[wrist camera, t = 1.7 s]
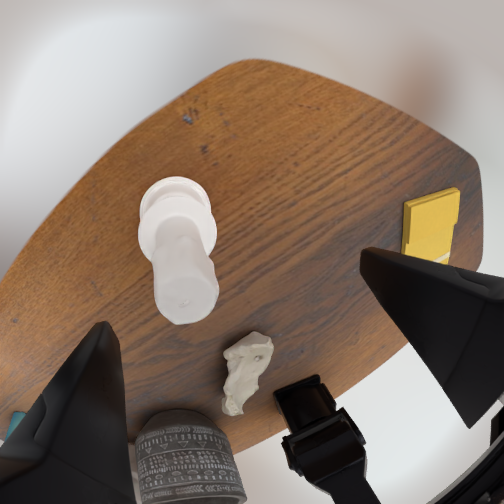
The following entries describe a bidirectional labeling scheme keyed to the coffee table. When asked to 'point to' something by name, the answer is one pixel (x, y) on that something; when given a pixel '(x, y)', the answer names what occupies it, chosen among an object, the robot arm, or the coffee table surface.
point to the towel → (430, 225)
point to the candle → (179, 248)
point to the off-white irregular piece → (245, 370)
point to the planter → (186, 461)
